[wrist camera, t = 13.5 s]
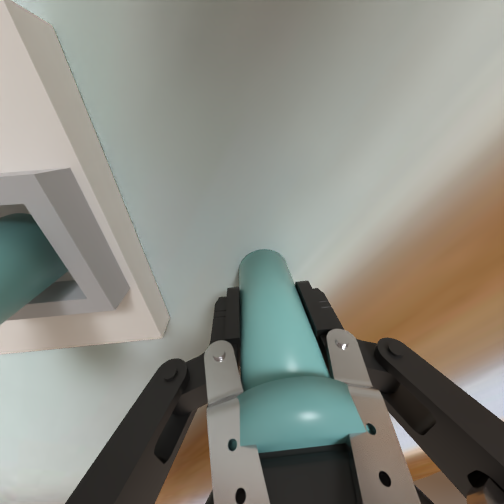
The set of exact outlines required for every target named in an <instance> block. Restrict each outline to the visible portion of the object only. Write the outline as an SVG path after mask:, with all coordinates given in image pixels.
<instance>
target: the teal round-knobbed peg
mask: <svg viewBox="0 0 504 504" xmlns="http://www.w3.org/2000/svg"><path fill="white" fill-rule="evenodd" d="M239 289H240V328H241V348H240V370H241V384H242V388H243V393H242V394H240V395H238V396H237V398H238V400H239V404H240V446H246V445H255V444H256V446H257V450H258V453H264V452H273V451H282V450H290V449H299V448H308V447H316V446H325V445H334V444H343V443H346V439H347V437H348V435H349V434H352V433H361V432H367V431H368V433H369V434H371V435H373V433H372V431H371V430H370V428H369V427H368V426H367V425H366V429H365V427H364V425H363V422H362V420H361V418H360V415H359V413H358V411H357V409H356V406H355V404H354V402H353V400H352V397H351V395H350V393H349V389H348V385H347V384H346V383H343V382H341V381H339V380H335V379H331V376H330V374H329V371H328V369H327V366H326V364H325V361H324V359H323V356H322V353H321V351H320V348H319V346H318V343H317V341H316V338H315V336H314V333H313V330H312V328H311V325H310V323H309V320H308V318H307V315H306V313H305V310H304V307H303V305H302V302H301V300H300V297H299V295H298V292H297V290H296V287H295V284H294V282H293V279H292V277H291V274H290V272H289V269H288V267H287V264H286V261H285V259H284V258H283V257H282V256H281V255H280V254H279V253H277V252H275V251H272V250H266V249H264V250H257V251H254V252H252V253H250V254H248V255H247V256H246V257H245V258H244V259H243V260H242V262H241V264H240V267H239ZM366 430H367V431H366ZM236 448H237V442H236V441H234V442H233V443H232V444H231V447H230V451H234V450H235V449H236Z"/></svg>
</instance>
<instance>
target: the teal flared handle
mask: <svg viewBox="0 0 504 504" xmlns="http://www.w3.org/2000/svg"><path fill="white" fill-rule="evenodd" d="M66 272H68V269H67V268H66V266H65V265H64V263H63V262H62V260H61V259H60V257H59V256H58V254H57V253H56V251H55V250H54V248H53V247H52V245H51V244H50V242H49V241H48V239H47V238H46V236H45V235H44V233H43V232H42V230H41V229H40V227H39V226H38V224H37V223H36V221H35V220H34V218H33V217H32V215H31V214H25V213H14V214H10V215H6V216H4V217H1V218H0V325H1V324H2V323H3V322H5V321H6V320H7V319H9V318H10V317H11V316H12V315H14V314H15V313H16V312H17V311H19V310H20V309H21V308H22V307H24V306H25V305H26V304H27V303H29V302H30V301H31V300H32V299H34V298H35V297H36V296H37V295H39V294H40V293H41V292H43V291H44V290H45V289H46V288H48V287H49V286H50V285H51V284H53V283H54V282H55V281H56V280H58V279H59V278H60V277H61V276H63V275H64V274H65V273H66Z"/></svg>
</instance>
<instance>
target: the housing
mask: <svg viewBox="0 0 504 504" xmlns="http://www.w3.org/2000/svg"><path fill="white" fill-rule="evenodd" d="M14 213H25V214H31V215H32V217H33V218H34V220H35V221H36V223H37V224H38V226H39V227H40V229H41V230H42V232H43V233H44V235H45V236H46V238H47V239H48V241H49V242H50V244H51V245H52V247H53V248H54V250H55V251H56V253H57V254H58V256H59V257H60V259H61V260H62V262H63V263H64V265H65V266H66V268H67V269H68V272H66V273H65V274H64V275H63V276H61V277H60V278H59V279H58V280H56V281H55V282H54V283H53V284H51V285H50V286H49V287H48V288H46V289H45V290H44V291H43V292H41V293H40V294H39V295H37V296H36V297H35V298H34V299H32V300H31V301H30V302H29V303H27V304H26V305H25V306H24V307H22V308H21V309H20V310H19V311H17V312H16V313H15V314H14V315H12V316H11V317H10V318H9V319H7V320H6V321H5V322H3V323H2V324H1V325H0V354H10V353H20V352H30V351H40V350H50V349H60V348H70V347H80V346H90V345H100V344H110V343H121V342H131V341H141V340H151V339H161V338H163V335H164V333H165V330H166V327H167V324H168V322H169V319H170V316H169V313H168V311H167V308H166V306H165V303H164V301H163V298H162V296H161V294H160V291H159V289H158V286H157V284H156V281H155V279H154V276H153V274H152V271H151V269H150V266H149V264H148V261H147V259H146V256H145V254H144V251H143V249H142V246H141V244H140V241H139V239H138V236H137V234H136V232H135V229H134V227H133V224H132V222H131V219H130V217H129V214H128V212H127V209H126V207H125V204H124V202H123V199H122V197H121V194H120V192H119V189H118V187H117V184H116V182H115V179H114V177H113V174H112V172H111V170H110V167H109V165H108V162H107V160H106V157H105V155H104V152H103V150H102V147H101V145H100V142H99V140H98V137H97V135H96V132H95V130H94V127H93V125H92V122H91V120H90V117H89V115H88V112H87V110H86V108H85V105H84V103H83V100H82V98H81V95H80V93H79V90H78V88H77V85H76V83H75V80H74V78H73V75H72V73H71V70H70V68H69V65H68V63H67V60H66V58H65V55H64V53H63V51H62V48H61V46H60V43H59V41H58V38H57V36H56V33H55V31H54V28H53V26H52V25H51V24H49V23H48V22H46V21H44V20H43V19H41V18H39V17H38V16H36V15H34V14H33V13H31V12H29V11H28V10H26V9H24V8H23V7H21V6H20V5H18V4H16V3H15V2H13V1H11V0H0V218H1V217H4V216H6V215H10V214H14Z"/></svg>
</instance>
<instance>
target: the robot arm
mask: <svg viewBox="0 0 504 504" xmlns="http://www.w3.org/2000/svg"><path fill="white" fill-rule="evenodd" d="M295 287H296V290H297V292H298V295H299V297H300V300H301V302H302V305H303V307H304V310H305V313H306V315H307V318H308V320H309V323H310V325H311V328H312V330H313V333H314V336H315V338H316V341H317V343H318V346H319V348H320V351H321V353H322V356H323V359H324V361H325V364H326V366H327V369H328V371H329V374H330V376H331V379H335V380H339V381H341V382H343V383H346V384H347V385H348V389H349V393H350V395H351V397H352V400H353V402H354V404H355V406H356V409H357V411H358V413H359V415H360V418H361V420H362V422H363V425H364V427H365V429H366V425H367V426H368V427H369V428H370V430H371V431H372V433H373V435H371V434H369V433H368V431H367V430H366V431H367V432H361V433H352V434H349V435H348V437H347V439H346V443H343V444H334V445H325V446H316V447H308V448H299V449H290V450H282V451H273V452H264V453H258V450H257V446H256V444H255V445H246V446H240V404H239V400H238V398H237V396H238V395H240V394H242V393H243V388H242V384H241V380H240V348H241V328H240V289H239V287H235V288H227V297H219V299H218V301H217V302H216V304H215V310H214V319H213V326H212V334H211V341H210V345H209V346H208V348H207V349H206V351H205V352H204V353H203V354H202V355H200V356H199V357H197V358H194V359H192V360H190V361H187V362H184V361H183V360H181V359H171V360H168V361H167V362H165V363H164V364H162V365H161V366H160V367H159V369H158V370H157V371H156V373H155V374H154V376H153V377H152V379H151V380H150V381H149V383H148V384H147V386H146V387H145V389H144V390H143V392H142V393H141V394H140V396H139V397H138V399H137V400H136V402H135V403H134V405H133V406H132V408H131V409H130V410H129V412H128V413H127V415H126V416H125V418H124V419H123V421H122V422H121V423H120V425H119V426H118V428H117V429H116V431H115V432H114V434H113V435H112V436H111V438H110V439H109V441H108V442H107V444H106V445H105V447H104V448H103V449H102V451H101V452H100V454H99V455H98V457H97V458H96V460H95V461H94V463H93V464H92V465H91V467H90V468H89V470H88V471H87V473H86V474H85V476H84V477H83V478H82V480H81V481H80V483H79V484H78V486H77V487H76V489H75V490H74V491H73V493H72V494H71V496H70V497H69V499H68V500H67V502H66V503H65V504H155V501H156V499H157V497H158V495H159V492H160V490H161V488H162V486H163V484H164V481H165V479H166V477H167V475H168V473H169V470H170V468H171V466H172V464H173V461H174V459H175V457H176V455H177V453H178V450H179V448H180V446H181V444H182V442H183V439H184V437H185V435H186V433H187V430H188V428H189V426H190V424H191V422H192V419H193V417H194V415H195V413H196V410H197V408H199V407H201V406H203V405H205V404H207V403H208V406H207V424H208V437H209V449H210V462H211V474H212V487H213V490H212V492H211V494H210V495H209V497H208V499H207V501H206V503H205V504H434V503H433V502H432V501H431V500H430V499H429V498H428V497H427V496H426V495H425V494H424V493H423V492H422V491H421V490H419V489H418V488H417V487H416V486H415V485H414V483H413V480H412V477H411V475H410V472H409V469H408V466H407V463H406V461H405V458H404V455H403V452H402V450H401V447H400V444H399V441H398V438H397V436H396V433H395V430H394V427H393V424H392V422H391V419H390V416H389V413H390V414H391V415H392V416H393V417H394V418H395V419H396V421H397V422H398V423H399V424H400V425H401V426H402V427H403V428H404V430H405V431H406V432H407V433H408V434H409V435H410V436H411V437H412V438H413V440H414V441H415V442H416V443H417V444H418V445H419V446H420V447H421V449H422V450H423V451H424V452H425V453H426V454H427V455H428V456H429V457H430V459H431V460H432V461H433V462H434V463H435V464H436V465H437V466H438V468H439V469H440V470H441V471H442V472H443V473H444V474H445V475H446V477H447V478H448V479H449V480H450V481H451V482H452V483H453V484H454V485H455V487H457V489H458V490H459V491H460V492H461V493H462V494H463V495H464V497H465V498H466V499H467V504H504V422H503V421H502V420H500V419H499V418H498V417H497V416H495V415H494V414H493V413H491V412H490V411H489V410H488V409H486V408H485V407H484V406H483V405H481V404H480V403H479V402H477V401H476V400H475V399H474V398H472V397H471V396H470V395H468V394H467V393H466V392H465V391H463V390H462V389H461V388H460V387H458V386H457V385H456V384H454V383H453V382H452V381H451V380H449V379H448V378H447V377H446V376H444V375H443V374H442V373H440V372H439V371H438V370H437V369H435V368H434V367H433V366H432V365H430V364H429V363H428V362H426V361H425V360H424V359H423V358H421V357H420V356H419V355H418V354H416V353H415V352H414V351H412V350H411V349H410V348H409V347H407V346H406V345H405V344H403V343H402V342H400V341H398V340H396V339H392V338H382V339H380V340H379V341H378V343H377V344H376V343H371V342H366V341H361V340H358V339H356V338H355V337H354V336H353V335H352V334H351V333H349V332H348V331H345V330H344V328H343V327H342V325H341V323H340V321H339V319H338V318H337V316H336V314H335V312H334V310H333V309H332V307H331V305H330V303H329V302H328V300H327V298H326V296H325V294H324V293H323V292H322V291H320V290H319V289H318V288H315V289H312V287H311V285H310V283H309V281H300V282H296V283H295ZM388 412H389V413H388ZM234 441H236V442H237V448H236V449H235V450H234V451H230V447H231V444H232V443H233V442H234Z"/></svg>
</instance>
